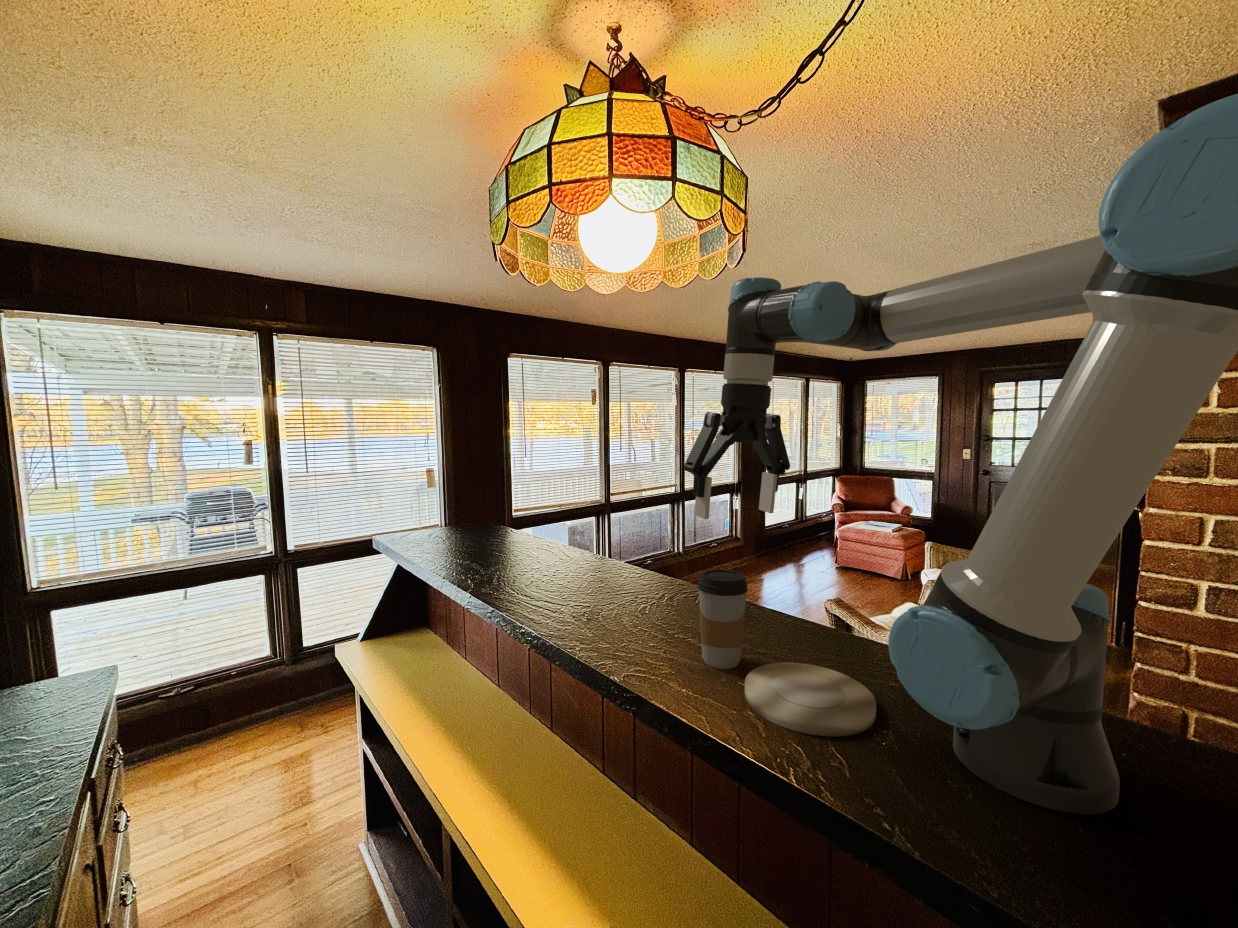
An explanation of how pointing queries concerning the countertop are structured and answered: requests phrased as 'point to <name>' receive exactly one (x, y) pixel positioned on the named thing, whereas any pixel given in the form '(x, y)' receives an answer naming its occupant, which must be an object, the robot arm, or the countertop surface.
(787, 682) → the cream round saucer
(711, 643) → the coffee cup
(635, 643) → the countertop surface
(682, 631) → the countertop surface
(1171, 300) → the robot arm
